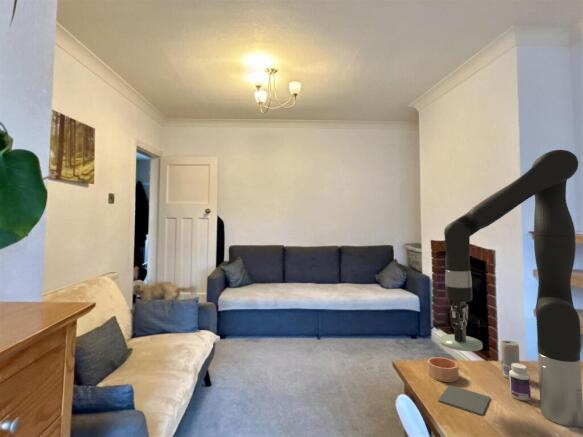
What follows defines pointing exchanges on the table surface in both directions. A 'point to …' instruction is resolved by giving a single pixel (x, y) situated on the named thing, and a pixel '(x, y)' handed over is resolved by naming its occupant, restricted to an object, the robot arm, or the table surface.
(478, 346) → the lid
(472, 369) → the table surface
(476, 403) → the mat
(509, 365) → the energy drink
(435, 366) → the bowl
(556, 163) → the robot arm
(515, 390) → the pill bottle
